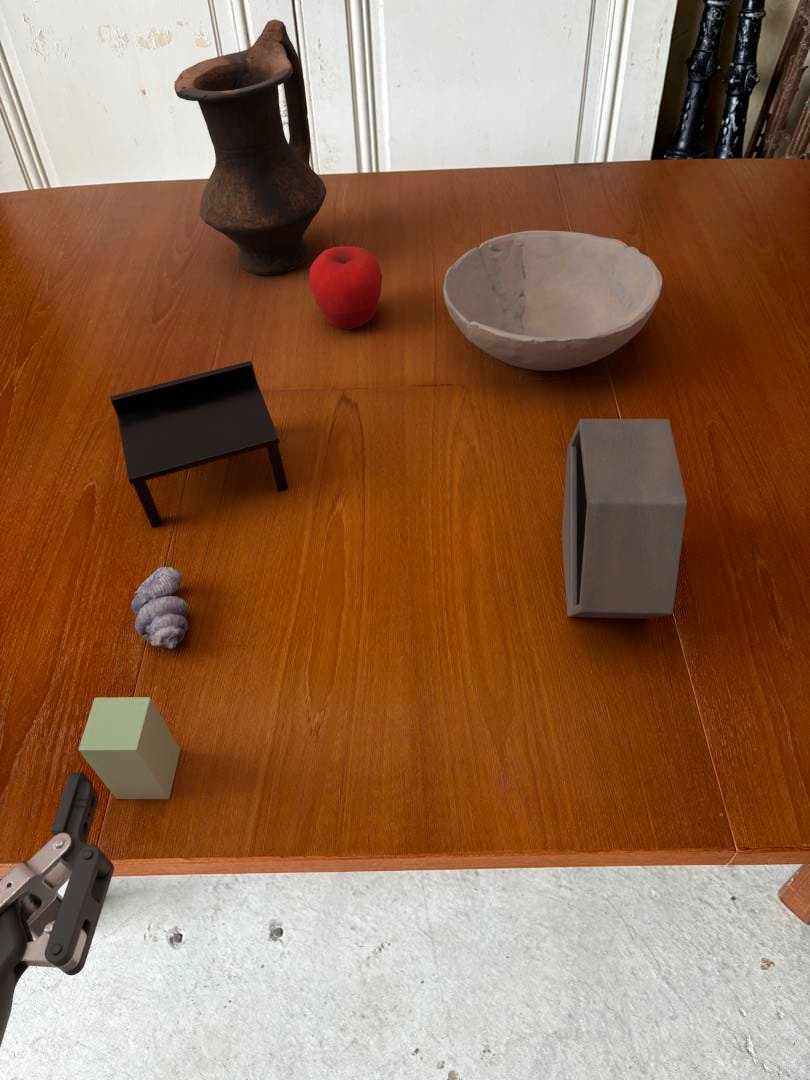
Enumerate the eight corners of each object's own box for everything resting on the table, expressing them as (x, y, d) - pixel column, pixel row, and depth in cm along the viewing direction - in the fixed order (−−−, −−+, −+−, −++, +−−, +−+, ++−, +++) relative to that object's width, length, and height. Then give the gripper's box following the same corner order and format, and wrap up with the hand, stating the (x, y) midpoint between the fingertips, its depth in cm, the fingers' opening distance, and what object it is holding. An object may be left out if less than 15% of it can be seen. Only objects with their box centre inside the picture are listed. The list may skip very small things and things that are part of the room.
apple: (337, 351, 109) (327, 278, 101) (303, 319, 115) (291, 247, 107) (399, 324, 112) (393, 252, 104) (363, 294, 118) (355, 223, 110)
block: (116, 799, 69) (77, 750, 62) (129, 749, 72) (94, 697, 65) (169, 799, 69) (136, 749, 62) (180, 749, 72) (150, 696, 65)
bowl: (410, 327, 112) (405, 261, 104) (570, 271, 119) (577, 205, 111) (513, 437, 96) (516, 367, 88) (691, 364, 103) (708, 294, 95)
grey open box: (561, 459, 86) (587, 399, 66) (636, 459, 85) (685, 398, 65) (561, 619, 84) (588, 609, 63) (637, 621, 83) (689, 611, 63)
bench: (150, 530, 89) (122, 465, 82) (137, 461, 97) (110, 396, 90) (290, 489, 92) (275, 423, 85) (267, 425, 100) (251, 360, 93)
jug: (285, 304, 117) (242, 79, 95) (190, 274, 125) (128, 58, 102) (365, 237, 129) (344, 22, 106) (274, 213, 136) (235, 7, 113)
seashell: (156, 594, 85) (179, 669, 79) (112, 581, 81) (133, 659, 75) (187, 561, 83) (213, 635, 77) (144, 546, 79) (168, 623, 73)
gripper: (9, 1093, 35) (107, 746, 46) (-306, 1090, 36) (-136, 750, 46) (73, 1117, 40) (147, 803, 51) (-200, 1114, 41) (-71, 805, 52)
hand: (12, 778), depth 49 cm, fingers open, 8 cm apart
